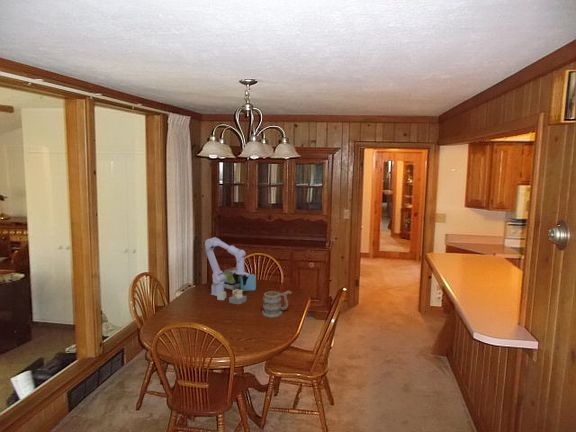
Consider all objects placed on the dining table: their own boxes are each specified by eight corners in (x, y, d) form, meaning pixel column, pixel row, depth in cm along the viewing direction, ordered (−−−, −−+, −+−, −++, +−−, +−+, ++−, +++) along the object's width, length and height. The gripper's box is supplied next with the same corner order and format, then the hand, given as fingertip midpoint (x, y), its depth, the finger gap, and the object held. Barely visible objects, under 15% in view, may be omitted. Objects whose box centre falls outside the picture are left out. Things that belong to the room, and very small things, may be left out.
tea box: (232, 290, 327) (232, 272, 325) (223, 287, 333) (223, 270, 331) (245, 285, 339) (245, 268, 337) (236, 283, 345) (236, 266, 343)
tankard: (264, 318, 269) (264, 295, 267) (260, 311, 281) (260, 290, 279) (294, 315, 275) (294, 293, 273) (289, 308, 287) (289, 287, 285)
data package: (255, 288, 332) (255, 274, 330) (255, 290, 327) (255, 275, 326) (240, 289, 329) (240, 274, 328) (240, 291, 325) (240, 276, 324)
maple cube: (232, 297, 299) (232, 290, 299) (237, 295, 303) (237, 288, 303) (237, 298, 296) (237, 291, 296) (242, 296, 300) (242, 290, 300)
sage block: (217, 299, 305) (217, 293, 304) (219, 297, 310) (219, 291, 309) (223, 300, 304) (223, 293, 303) (226, 298, 308) (226, 291, 308)
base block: (229, 303, 299) (229, 297, 298) (236, 299, 307) (236, 294, 306) (239, 305, 295) (239, 299, 294) (246, 301, 302) (246, 296, 302)
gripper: (229, 266, 307) (229, 283, 309) (244, 269, 299) (244, 287, 300) (235, 264, 313) (236, 281, 314) (250, 267, 304) (250, 284, 306)
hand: (240, 284), depth 308 cm, fingers open, 7 cm apart
